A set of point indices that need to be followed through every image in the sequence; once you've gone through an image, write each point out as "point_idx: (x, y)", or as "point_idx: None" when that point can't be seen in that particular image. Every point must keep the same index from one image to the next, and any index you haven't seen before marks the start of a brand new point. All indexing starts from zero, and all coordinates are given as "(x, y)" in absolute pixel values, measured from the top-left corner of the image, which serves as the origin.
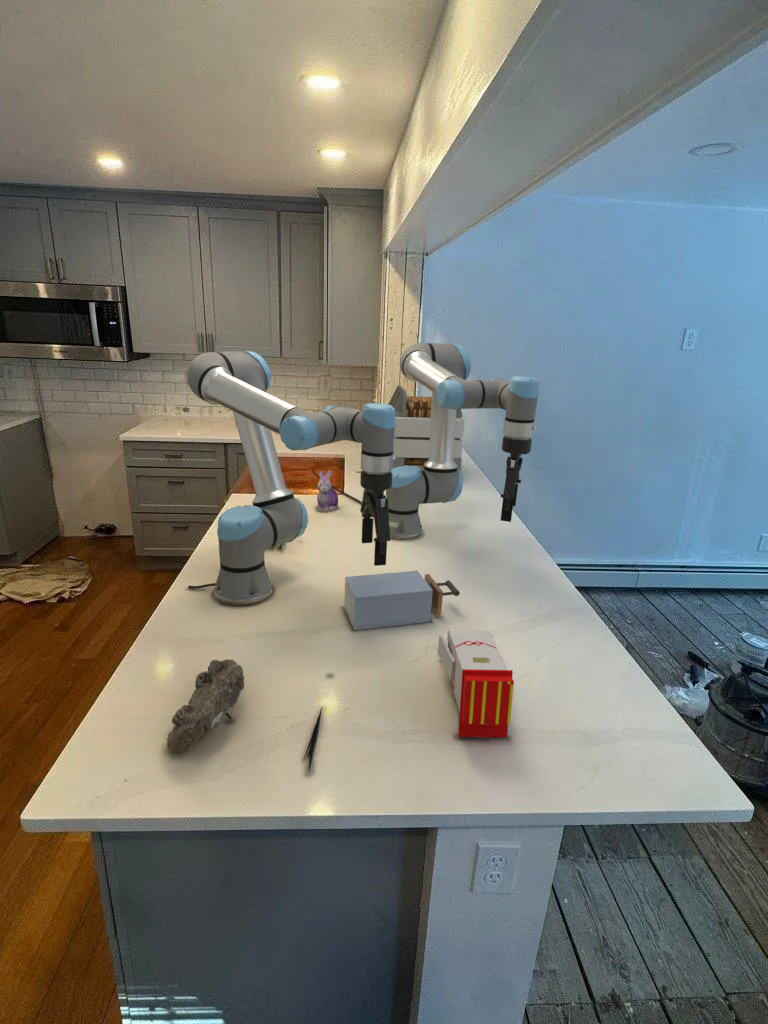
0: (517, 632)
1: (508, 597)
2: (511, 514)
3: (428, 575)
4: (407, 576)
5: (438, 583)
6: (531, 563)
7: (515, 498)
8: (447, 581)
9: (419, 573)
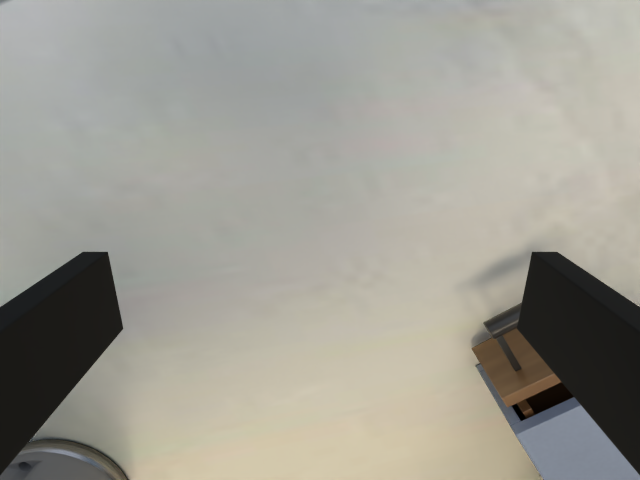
0: (604, 76)
1: (378, 127)
2: (601, 284)
3: (513, 397)
4: (566, 450)
5: (509, 354)
6: (51, 65)
7: (61, 295)
8: (499, 335)
9: (536, 427)
